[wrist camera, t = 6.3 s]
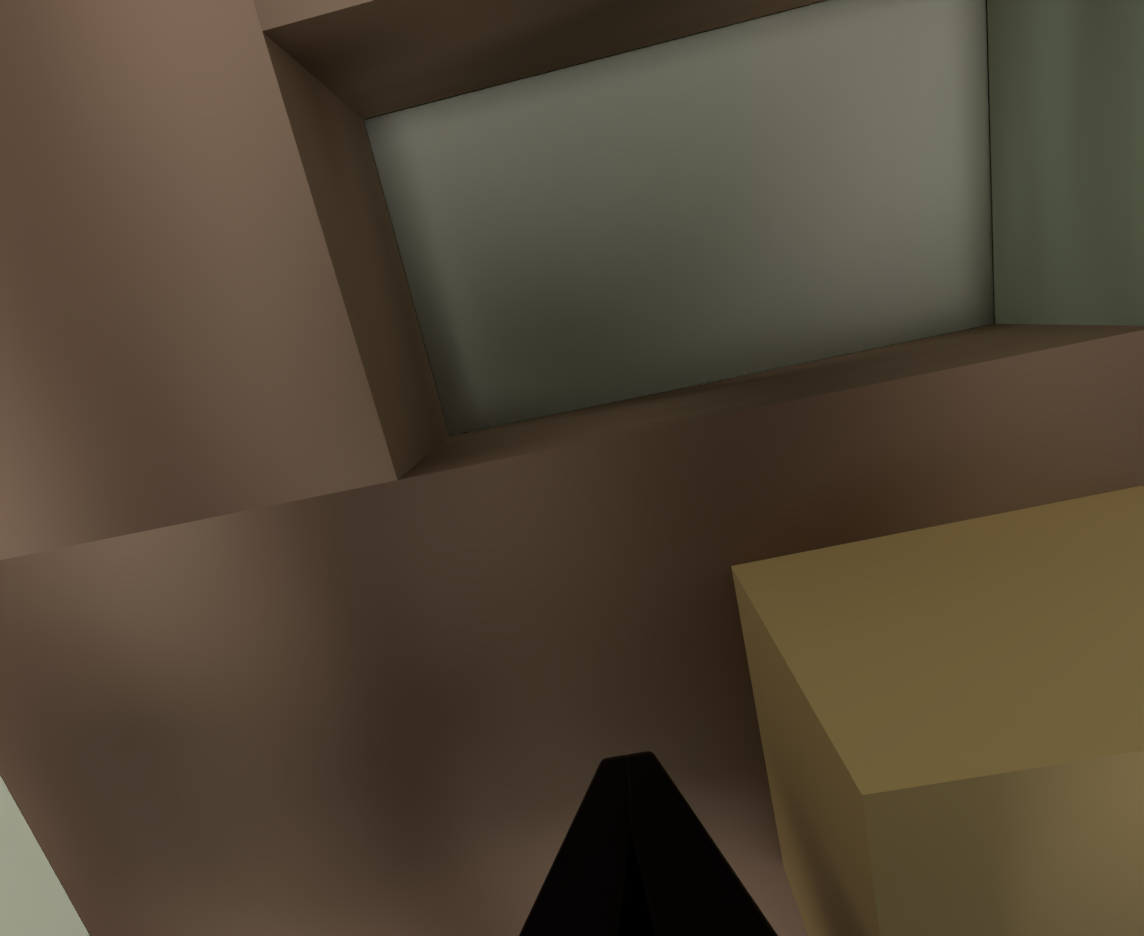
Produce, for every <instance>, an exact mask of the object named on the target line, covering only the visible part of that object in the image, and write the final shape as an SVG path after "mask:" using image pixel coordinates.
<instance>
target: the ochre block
mask: <svg viewBox="0 0 1144 936" xmlns="http://www.w3.org/2000/svg"><path fill="white" fill-rule="evenodd" d="M731 568H732V574H733V580H734V586H735V591H736V597H737V603H738V609H739V614H740V620H741V626H742V632H743V637H744V643H745V649H746V655H747V660H748V666H749V672H750V677H751V683H752V689H753V695H754V700H755V706H756V712H757V718H758V723H759V729H760V735H761V741H762V746H763V752H764V758H765V764H766V769H767V775H768V781H769V787H770V792H771V798H772V804H773V809H774V815H775V821H776V827H777V832H778V838H779V844H780V850H781V855H782V861H783V866H784V869H785V872H786V875H787V878H788V880H789V883H790V886H791V889H792V892H793V894H794V897H795V900H796V903H797V906H798V909H799V911H800V914H801V917H802V920H803V923H804V926H805V928H806V931H807V934H808V936H1144V486H1137V487H1132V488H1127V489H1122V490H1117V491H1112V492H1107V493H1102V494H1096V495H1091V496H1086V497H1081V498H1076V499H1071V500H1066V501H1061V502H1056V503H1051V504H1045V505H1040V506H1035V507H1030V508H1025V509H1020V510H1015V511H1010V512H1005V513H999V514H994V515H989V516H984V517H979V518H974V519H969V520H964V521H959V522H954V523H948V524H943V525H938V526H933V527H928V528H923V529H918V530H913V531H908V532H902V533H897V534H892V535H887V536H882V537H877V538H872V539H867V540H862V541H857V542H851V543H846V544H841V545H836V546H831V547H826V548H821V549H816V550H811V551H805V552H800V553H795V554H790V555H785V556H780V557H775V558H770V559H765V560H760V561H754V562H749V563H744V564H739V565H734V566H731Z"/></svg>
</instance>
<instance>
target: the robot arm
mask: <svg viewBox="0 0 1144 936" xmlns="http://www.w3.org/2000/svg"><path fill="white" fill-rule="evenodd" d="M519 936H778V935H777V933H776V932H775V930H774V929H773V927H772V926H771V924H770V923H769V921H768V920H767V918H766V917H765V916H764V914H763V913H762V911H761V910H760V908H759V907H758V905H757V904H756V902H755V901H754V899H753V898H752V896H751V895H750V893H749V892H748V891H747V889H746V888H745V886H744V885H743V883H742V882H741V880H740V879H739V877H738V876H737V874H736V873H735V871H734V870H733V868H732V867H731V866H730V864H729V863H728V861H727V860H726V858H725V857H724V855H723V854H722V852H721V851H720V849H719V848H718V846H717V845H716V843H715V842H714V841H713V839H712V838H711V836H710V835H709V833H708V832H707V830H706V829H705V827H704V826H703V824H702V823H701V821H700V820H699V819H698V817H697V816H696V814H695V813H694V811H693V810H692V808H691V807H690V805H689V804H688V802H687V801H686V799H685V798H684V796H683V795H682V794H681V792H680V791H679V789H678V788H677V786H676V785H675V783H674V782H673V780H672V779H671V777H670V776H669V774H668V773H667V771H666V770H665V769H664V767H663V766H662V764H661V763H660V761H659V760H658V758H657V757H656V755H655V754H654V753H653V752H651V751H645V752H638V753H632V754H628V755H620V756H614V757H608V758H604V759H602V760H601V762H600V764H599V766H598V768H597V770H596V772H595V774H594V776H593V779H592V781H591V783H590V785H589V787H588V789H587V791H586V793H585V796H584V798H583V800H582V802H581V804H580V806H579V808H578V811H577V813H576V815H575V817H574V819H573V821H572V823H571V825H570V828H569V830H568V832H567V834H566V836H565V838H564V840H563V842H562V845H561V847H560V849H559V851H558V853H557V855H556V857H555V860H554V862H553V864H552V866H551V868H550V870H549V872H548V874H547V877H546V879H545V881H544V883H543V885H542V887H541V889H540V892H539V894H538V896H537V898H536V900H535V902H534V904H533V906H532V909H531V911H530V913H529V915H528V917H527V919H526V921H525V924H524V926H523V928H522V930H521V932H520V934H519Z"/></svg>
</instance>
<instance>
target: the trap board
mask: <svg viewBox="0 0 1144 936" xmlns="http://www.w3.org/2000/svg"><path fill="white" fill-rule="evenodd" d="M820 1H823V0H0V775H1V777H2V779H3V781H4V783H5V784H6V786H7V788H8V790H9V792H10V793H11V795H12V797H13V799H14V800H15V802H16V804H17V806H18V808H19V809H20V811H21V813H22V815H23V817H24V818H25V820H26V822H27V824H28V825H29V827H30V829H31V831H32V833H33V834H34V836H35V838H36V840H37V842H38V843H39V845H40V847H41V849H42V851H43V852H44V854H45V856H46V858H47V859H48V861H49V863H50V865H51V867H52V868H53V870H54V872H55V874H56V876H57V877H58V879H59V881H60V883H61V885H62V886H63V888H64V890H65V892H66V893H67V895H68V897H69V899H70V901H71V902H72V904H73V906H74V908H75V910H76V911H77V913H78V915H79V917H80V918H81V920H82V922H83V924H84V926H85V927H86V929H87V931H88V933H89V935H90V936H519V934H520V932H521V930H522V928H523V926H524V924H525V921H526V919H527V917H528V915H529V913H530V911H531V909H532V906H533V904H534V902H535V900H536V898H537V896H538V894H539V892H540V889H541V887H542V885H543V883H544V881H545V879H546V877H547V874H548V872H549V870H550V868H551V866H552V864H553V862H554V860H555V857H556V855H557V853H558V851H559V849H560V847H561V845H562V842H563V840H564V838H565V836H566V834H567V832H568V830H569V828H570V825H571V823H572V821H573V819H574V817H575V815H576V813H577V811H578V808H579V806H580V804H581V802H582V800H583V798H584V796H585V793H586V791H587V789H588V787H589V785H590V783H591V781H592V779H593V776H594V774H595V772H596V770H597V768H598V766H599V764H600V762H601V760H602V759H604V758H608V757H614V756H620V755H628V754H632V753H638V752H645V751H651V752H653V753H654V754H655V755H656V757H657V758H658V760H659V761H660V763H661V764H662V766H663V767H664V769H665V770H666V771H667V773H668V774H669V776H670V777H671V779H672V780H673V782H674V783H675V785H676V786H677V788H678V789H679V791H680V792H681V794H682V795H683V796H684V798H685V799H686V801H687V802H688V804H689V805H690V807H691V808H692V810H693V811H694V813H695V814H696V816H697V817H698V819H699V820H700V821H701V823H702V824H703V826H704V827H705V829H706V830H707V832H708V833H709V835H710V836H711V838H712V839H713V841H714V842H715V843H716V845H717V846H718V848H719V849H720V851H721V852H722V854H723V855H724V857H725V858H726V860H727V861H728V863H729V864H730V866H731V867H732V868H733V870H734V871H735V873H736V874H737V876H738V877H739V879H740V880H741V882H742V883H743V885H744V886H745V888H746V889H747V891H748V892H749V893H750V895H751V896H752V898H753V899H754V901H755V902H756V904H757V905H758V907H759V908H760V910H761V911H762V913H763V914H764V916H765V917H766V918H767V920H768V921H769V923H770V924H771V926H772V927H773V929H774V930H775V932H776V933H777V935H778V936H808V934H807V931H806V928H805V926H804V923H803V920H802V917H801V914H800V911H799V909H798V906H797V903H796V900H795V897H794V894H793V892H792V889H791V886H790V883H789V880H788V878H787V875H786V872H785V869H784V866H783V861H782V855H781V850H780V844H779V838H778V832H777V827H776V821H775V815H774V809H773V804H772V798H771V792H770V787H769V781H768V775H767V769H766V764H765V758H764V752H763V746H762V741H761V735H760V729H759V723H758V718H757V712H756V706H755V700H754V695H753V689H752V683H751V677H750V672H749V666H748V660H747V655H746V649H745V643H744V637H743V632H742V626H741V620H740V614H739V609H738V603H737V597H736V591H735V586H734V580H733V574H732V568H731V566H734V565H739V564H744V563H749V562H754V561H760V560H765V559H770V558H775V557H780V556H785V555H790V554H795V553H800V552H805V551H811V550H816V549H821V548H826V547H831V546H836V545H841V544H846V543H851V542H857V541H862V540H867V539H872V538H877V537H882V536H887V535H892V534H897V533H902V532H908V531H913V530H918V529H923V528H928V527H933V526H938V525H943V524H948V523H954V522H959V521H964V520H969V519H974V518H979V517H984V516H989V515H994V514H999V513H1005V512H1010V511H1015V510H1020V509H1025V508H1030V507H1035V506H1040V505H1045V504H1051V503H1056V502H1061V501H1066V500H1071V499H1076V498H1081V497H1086V496H1091V495H1096V494H1102V493H1107V492H1112V491H1117V490H1122V489H1127V488H1132V487H1137V486H1144V0H987V14H988V54H989V94H990V134H991V174H992V214H993V254H994V294H995V324H992V325H987V326H982V327H977V328H972V329H967V330H963V331H958V332H953V333H948V334H943V335H938V336H934V337H929V338H924V339H919V340H914V341H909V342H904V343H900V344H895V345H890V346H885V347H880V348H875V349H871V350H866V351H861V352H856V353H851V354H846V355H841V356H837V357H832V358H827V359H822V360H817V361H812V362H808V363H803V364H798V365H793V366H788V367H783V368H779V369H774V370H769V371H764V372H759V373H754V374H749V375H745V376H740V377H735V378H730V379H725V380H720V381H716V382H711V383H706V384H701V385H696V386H691V387H686V388H682V389H677V390H672V391H667V392H662V393H657V394H653V395H648V396H643V397H638V398H633V399H628V400H624V401H619V402H614V403H609V404H604V405H599V406H594V407H590V408H585V409H580V410H575V411H570V412H565V413H561V414H556V415H551V416H546V417H541V418H536V419H531V420H527V421H522V422H517V423H512V424H507V425H502V426H498V427H493V428H488V429H483V430H478V431H473V432H469V433H464V434H459V435H454V436H449V434H448V430H447V426H446V423H445V419H444V415H443V412H442V408H441V404H440V401H439V397H438V393H437V390H436V386H435V382H434V379H433V375H432V371H431V367H430V364H429V360H428V356H427V353H426V349H425V345H424V342H423V338H422V334H421V331H420V327H419V323H418V320H417V316H416V312H415V309H414V305H413V301H412V298H411V294H410V290H409V287H408V283H407V279H406V276H405V272H404V268H403V265H402V261H401V257H400V253H399V250H398V246H397V242H396V239H395V235H394V231H393V228H392V224H391V220H390V217H389V213H388V209H387V206H386V202H385V198H384V195H383V191H382V187H381V184H380V180H379V176H378V173H377V169H376V165H375V162H374V158H373V154H372V150H371V147H370V143H369V139H368V136H367V132H366V128H365V125H364V121H363V119H366V118H370V117H374V116H378V115H382V114H386V113H389V112H393V111H397V110H401V109H405V108H409V107H413V106H417V105H420V104H424V103H428V102H432V101H436V100H440V99H444V98H448V97H451V96H455V95H459V94H463V93H467V92H471V91H475V90H479V89H482V88H486V87H490V86H494V85H498V84H502V83H506V82H510V81H513V80H517V79H521V78H525V77H529V76H533V75H537V74H541V73H544V72H548V71H552V70H556V69H560V68H564V67H568V66H572V65H575V64H579V63H583V62H587V61H591V60H595V59H599V58H603V57H606V56H610V55H614V54H618V53H622V52H626V51H630V50H634V49H637V48H641V47H645V46H649V45H653V44H657V43H661V42H665V41H668V40H672V39H676V38H680V37H684V36H688V35H692V34H696V33H699V32H703V31H707V30H711V29H715V28H719V27H723V26H727V25H730V24H734V23H738V22H742V21H746V20H750V19H754V18H758V17H761V16H765V15H769V14H773V13H777V12H781V11H785V10H789V9H792V8H796V7H800V6H804V5H808V4H812V3H816V2H820Z"/></svg>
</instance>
